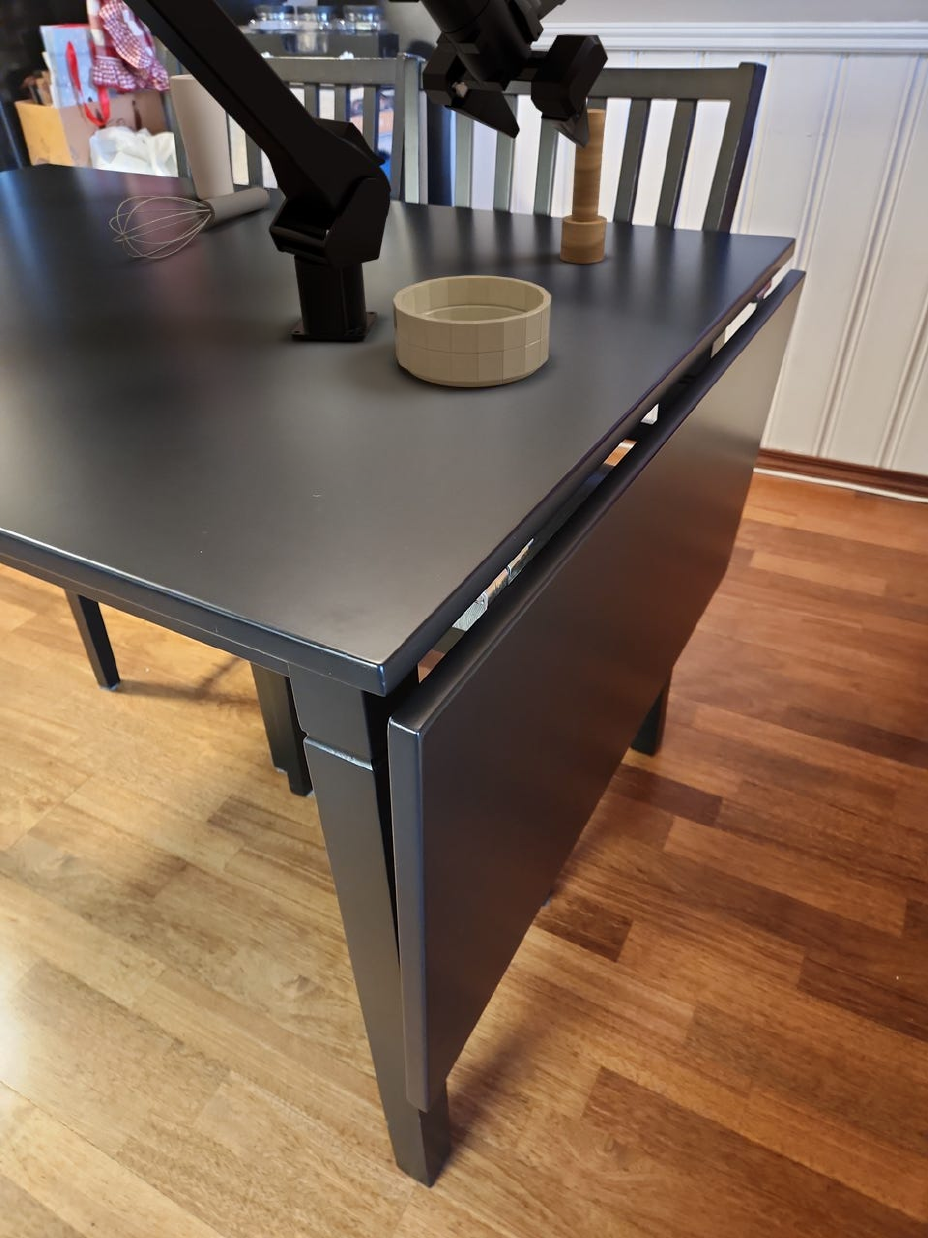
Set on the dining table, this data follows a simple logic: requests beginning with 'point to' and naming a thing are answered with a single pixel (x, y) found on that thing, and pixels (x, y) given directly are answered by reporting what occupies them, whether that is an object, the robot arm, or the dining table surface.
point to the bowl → (472, 330)
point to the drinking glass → (203, 136)
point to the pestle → (586, 200)
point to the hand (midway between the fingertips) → (550, 138)
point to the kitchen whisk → (203, 212)
